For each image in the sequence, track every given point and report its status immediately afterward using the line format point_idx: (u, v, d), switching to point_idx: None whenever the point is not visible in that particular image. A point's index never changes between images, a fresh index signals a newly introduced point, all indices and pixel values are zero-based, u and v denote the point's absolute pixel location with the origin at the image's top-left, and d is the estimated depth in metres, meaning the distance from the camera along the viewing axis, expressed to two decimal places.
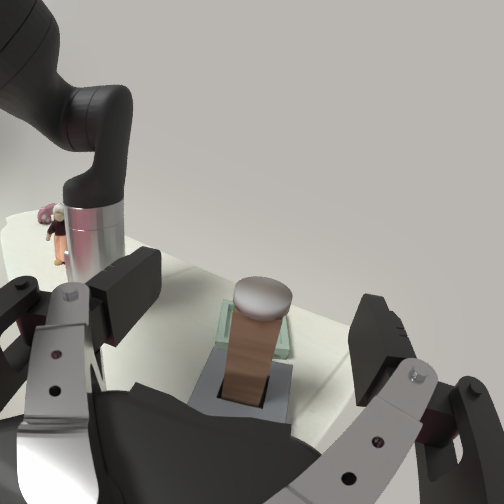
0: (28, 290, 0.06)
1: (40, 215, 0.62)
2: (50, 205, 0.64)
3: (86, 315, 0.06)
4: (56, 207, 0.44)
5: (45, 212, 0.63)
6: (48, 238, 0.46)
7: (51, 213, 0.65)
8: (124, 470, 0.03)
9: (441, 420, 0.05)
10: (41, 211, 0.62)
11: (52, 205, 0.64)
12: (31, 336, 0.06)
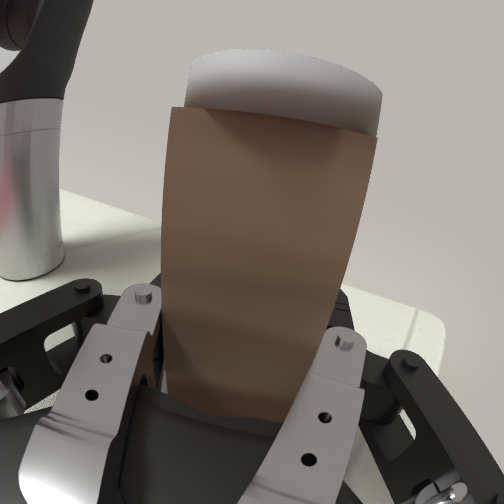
0: (92, 294, 0.07)
1: None
2: None
3: (153, 322, 0.06)
4: None
5: None
6: None
7: None
8: (137, 489, 0.03)
9: (373, 392, 0.06)
10: None
11: None
12: None
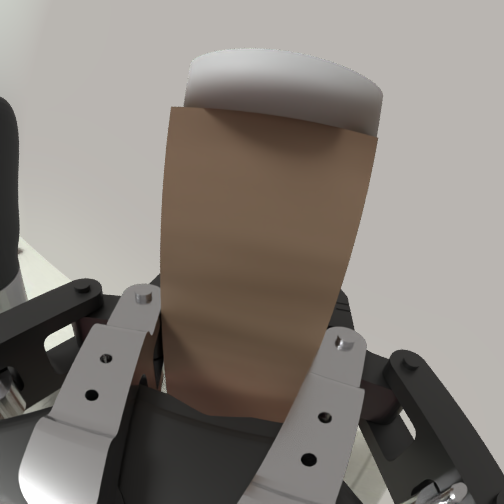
0: (92, 294, 0.07)
1: None
2: None
3: (154, 322, 0.06)
4: None
5: None
6: None
7: None
8: (137, 490, 0.03)
9: (373, 392, 0.06)
10: None
11: None
12: None
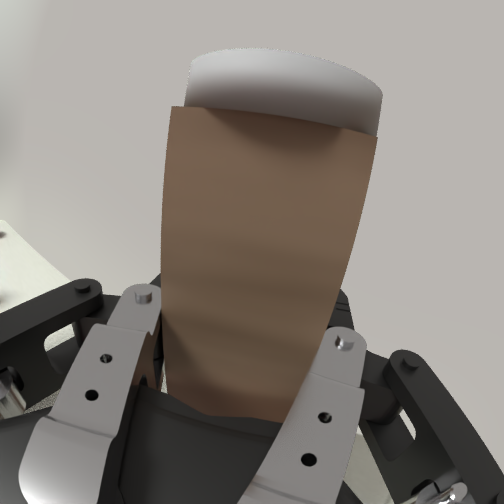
0: (92, 294, 0.07)
1: None
2: None
3: (154, 322, 0.06)
4: None
5: None
6: None
7: None
8: (137, 489, 0.03)
9: (373, 392, 0.06)
10: None
11: None
12: None
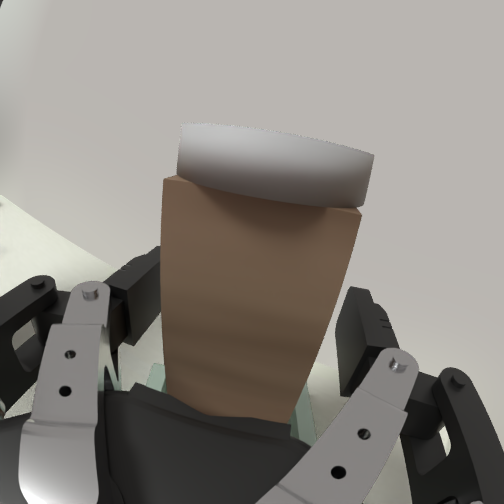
0: (45, 290, 0.06)
1: None
2: None
3: (105, 316, 0.06)
4: None
5: None
6: None
7: None
8: (129, 475, 0.03)
9: (424, 411, 0.05)
10: None
11: None
12: (46, 336, 0.07)
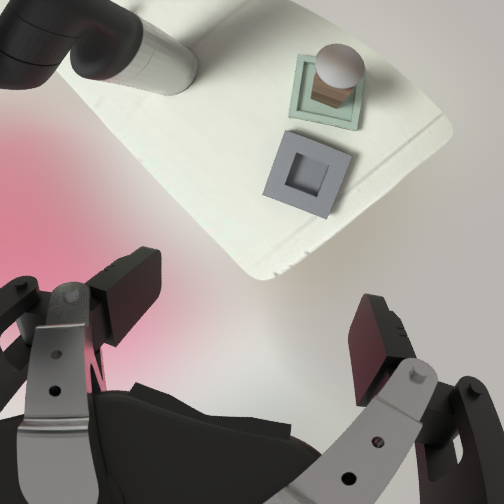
0: (28, 290, 0.06)
1: None
2: None
3: (86, 315, 0.06)
4: None
5: None
6: None
7: None
8: (124, 470, 0.03)
9: (441, 420, 0.05)
10: None
11: None
12: (31, 336, 0.06)
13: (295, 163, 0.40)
